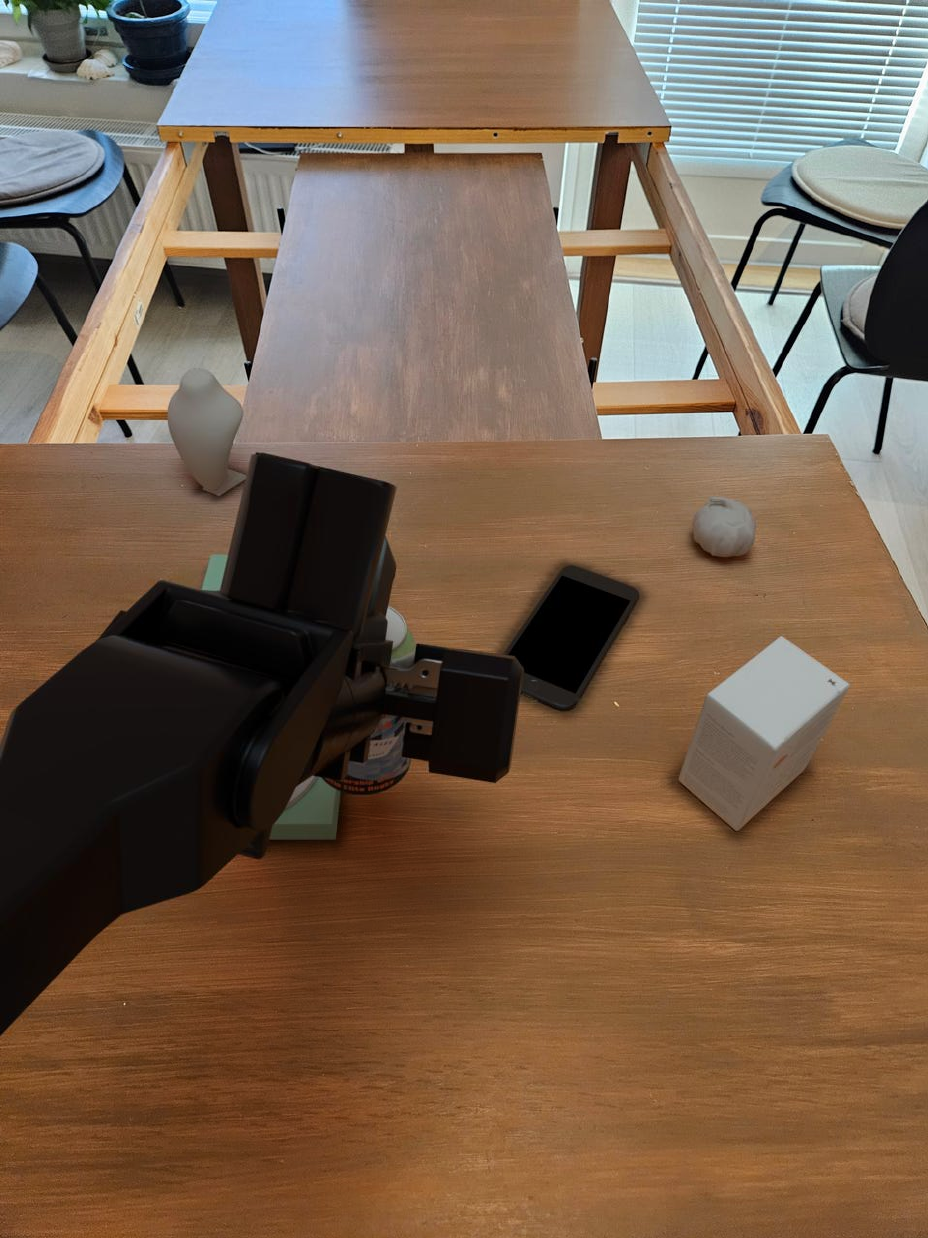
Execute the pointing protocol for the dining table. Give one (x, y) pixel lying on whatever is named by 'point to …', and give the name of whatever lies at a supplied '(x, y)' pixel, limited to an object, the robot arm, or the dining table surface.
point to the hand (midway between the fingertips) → (371, 678)
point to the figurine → (205, 429)
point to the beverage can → (384, 727)
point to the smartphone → (570, 635)
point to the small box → (760, 730)
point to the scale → (312, 799)
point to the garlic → (724, 527)
